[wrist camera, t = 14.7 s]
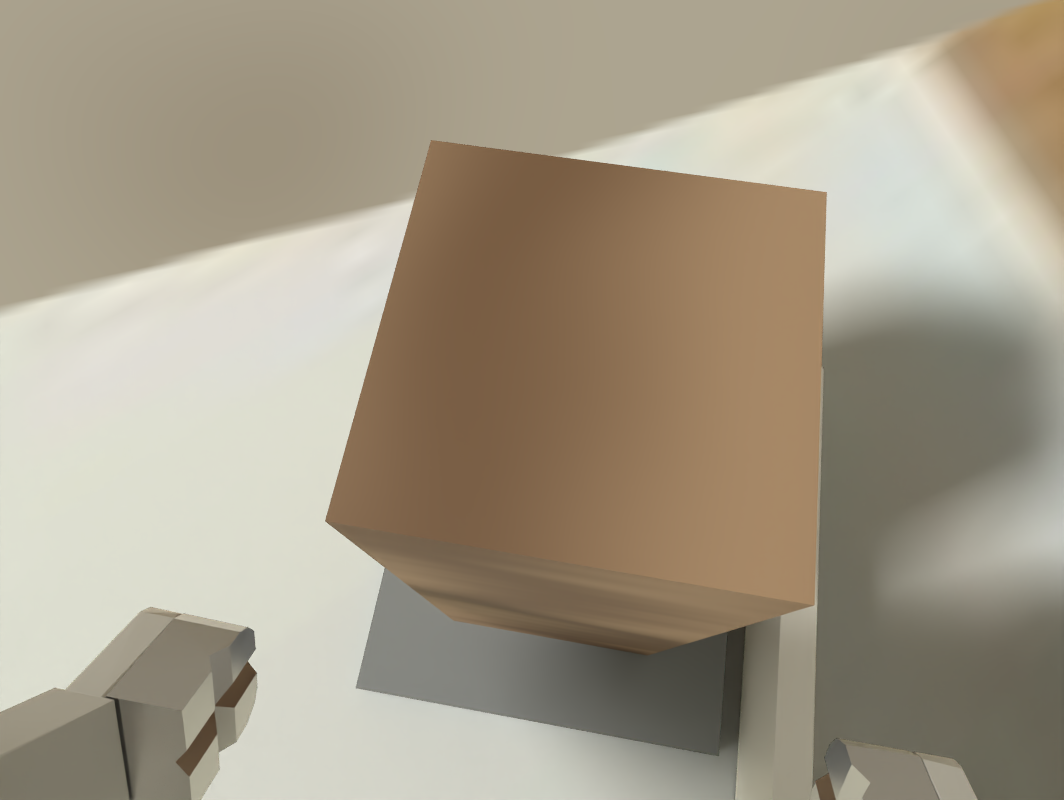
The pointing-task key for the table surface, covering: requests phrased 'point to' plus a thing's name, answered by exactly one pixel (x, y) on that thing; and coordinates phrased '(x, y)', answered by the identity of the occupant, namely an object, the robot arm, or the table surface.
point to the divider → (779, 699)
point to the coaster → (544, 675)
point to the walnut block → (595, 401)
